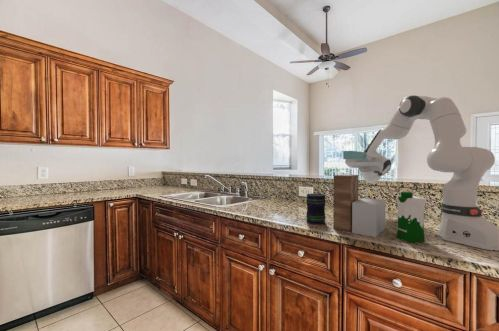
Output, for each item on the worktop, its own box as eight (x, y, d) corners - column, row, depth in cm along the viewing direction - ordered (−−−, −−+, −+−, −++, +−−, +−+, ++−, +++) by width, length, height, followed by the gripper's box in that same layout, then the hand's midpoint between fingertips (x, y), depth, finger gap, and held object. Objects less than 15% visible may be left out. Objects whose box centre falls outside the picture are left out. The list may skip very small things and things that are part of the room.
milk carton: (393, 237, 104) (393, 191, 104) (411, 236, 106) (411, 190, 105) (409, 244, 96) (410, 193, 95) (429, 242, 97) (430, 193, 97)
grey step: (363, 225, 124) (363, 197, 124) (385, 228, 117) (385, 199, 117) (352, 232, 110) (352, 202, 110) (376, 237, 104) (376, 205, 103)
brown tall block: (342, 223, 127) (342, 174, 126) (358, 226, 121) (358, 174, 121) (333, 228, 117) (333, 175, 117) (350, 231, 112) (350, 176, 112)
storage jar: (326, 225, 124) (326, 196, 123) (306, 224, 126) (306, 195, 125) (324, 220, 133) (324, 193, 133) (306, 219, 135) (306, 193, 135)
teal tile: (359, 159, 139) (359, 152, 139) (366, 159, 136) (366, 152, 136) (343, 159, 119) (343, 151, 119) (351, 159, 116) (351, 150, 116)
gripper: (349, 162, 152) (343, 150, 142) (386, 162, 138) (381, 149, 129) (348, 171, 149) (341, 160, 140) (385, 172, 136) (380, 159, 127)
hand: (360, 155), depth 134 cm, fingers closed on teal tile, 4 cm apart
